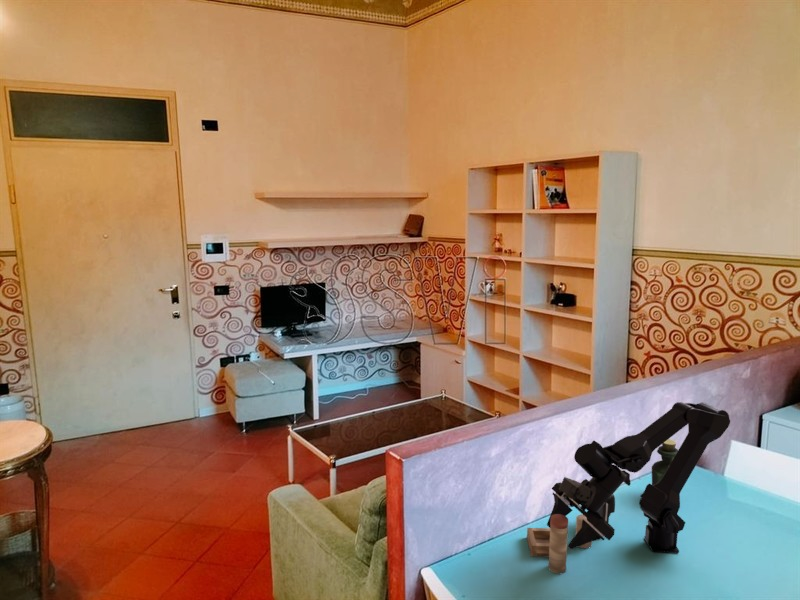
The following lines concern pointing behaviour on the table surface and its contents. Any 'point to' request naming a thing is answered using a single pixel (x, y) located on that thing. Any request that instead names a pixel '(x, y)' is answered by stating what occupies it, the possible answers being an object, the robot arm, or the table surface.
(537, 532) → the light brown square frame
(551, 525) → the long pin
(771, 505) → the table surface
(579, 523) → the short pin
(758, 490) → the table surface
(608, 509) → the battery charger
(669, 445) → the potion bottle
